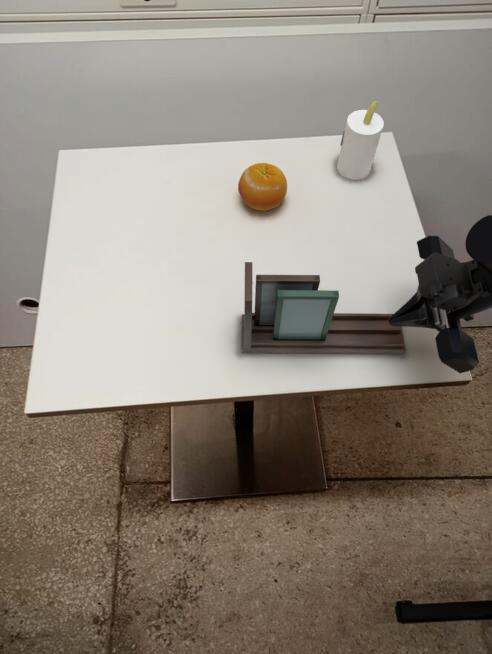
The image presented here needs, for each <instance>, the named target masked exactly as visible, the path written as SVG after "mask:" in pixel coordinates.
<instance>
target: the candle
mask: <svg viewBox="0 0 492 654" xmlns="http://www.w3.org/2000/svg"><path fill="white" fill-rule="evenodd" d="M377 104H378V101H377V100H376V99H375V100H374V101H373V102H372V103H371V104H370V105H369V107H368V109H358V110H354V111H353V112H351V113H350V114H349V115H348V116H347V119H346V124H345V129H344V130H343V132H342V136H341V141H340V151H339V155H338V159H337V167H336V168H337V172H338V173H339V174H340V175H341V176H342V177H343V178H345V179H347V180H352V181H359V180H363V179H365V178H367V176H369V175H370V172H371V169H372V166H373V163H374V159H375V156H376V153H377V149H378V146H379V141H380V139H381V136H382V132H383V129H384V127H385V126H384V125H385V123H384V119H383V118H382V116H381V115H380V114H378V113H377V112H375V111H376V108H377Z"/></svg>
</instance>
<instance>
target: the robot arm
mask: <svg viewBox="0 0 492 654" xmlns="http://www.w3.org/2000/svg"><path fill="white" fill-rule="evenodd" d="M416 245H417V250H418V251H417V252H418V256H419V258H420V259H421V260H423V261H421V262H420V263H418V264H417V265H416V266H415V267H414V272H415V274H416V275H417V281H418V285H417V289H416V292H415V293H414V294H413V295H412V297H410V298H409V300H407V302H405V304H403V305H402V306H401V307H400V308H399V309H398V310H396V311H395V312H394V313H392V314H393V315H392V316H391V317H390V318H389V324H390V325H392V326H402V327H404V328H405V327H406V328H407V327H409V328H425V329H432V330H436V331H437V332H438V333H437V334H436V336H435V339H434V340H435V344H436V350H437V355H438V358H439V360H440V362H441V363H442V364H444V365H446V366H447V367H449V368H451V369H452V370H454V371H455V372H457V373H458V374H463V373H466V372H470V371H473V370H474V369H475V368H476V367H477V366H478V365H479V363H480V361H479V357H478V356H479V355H478V352H477V348H476V345H475V344H476V343H475V339H474V338H473V337H472V336H470V335H469V334H467V333H466V332H465V331H463V329H462V324H461V320H462V319H463V320H464V321H465V322H470V321H472V320H475V317H474V315H476V314H480V313H481V312H484V311H487V310H490V309H492V214H488V215H485V216H483V217H482V218H480V219H478V221H476V222H475V223H474V224H473V225H472V226H471V228H470V229H469V230H468V232H467V235H466V238H465V250H466V253H467V254H468V256H469V257H470V258H471V260H469V261H464V262H461V261H459V260H458V259H456V257H455V253H454V249H453V248H452V247H450V246H449V244H447V243H446V242H445V241H444V239H442V238H441V237H440V236H439V235H427V236H425V237H423V238H421V239H419V240H417V241H416Z"/></svg>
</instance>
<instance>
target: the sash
mask: <svg viewBox="0 0 492 654" xmlns="http://www.w3.org/2000/svg"><path fill="white" fill-rule="evenodd" d="M339 299H340V291H339V290H334V289H333V290H321V289H320V290H319V289H318V290H278V292H277V300H276V309H275V318H274V327H273V341H325V339H326V336H327V333H328V330H329V327H330V324H331V321H332V317H333V314H334V313H335V312H336V311H335V310H336V308H337V306H338V305H337V304H338V302H339Z"/></svg>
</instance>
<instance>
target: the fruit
mask: <svg viewBox="0 0 492 654" xmlns="http://www.w3.org/2000/svg"><path fill="white" fill-rule="evenodd" d="M237 189H238V193H239V196H240V198H241V200H242V201H243V203H244V204H245V205H247V206H248V207H249V208H251V209H253V210H256V211H261V212H265V211H269V210H272V209H274V208H276V207H278V206H279V205H280V204H281V203H282V202H283V201H284V200H285V197H286V195H287V191H288V180H287V177H286V176H285V174H284V172H283V171H282V169H281V168H280V167H278V166H276V165H274V164H271V163H267V162H258V163H255V164H252V165H250V166H248V167H247V168H245V170H244V171H243V172H242V174H241V176H240V177H239V180H238V185H237Z"/></svg>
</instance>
